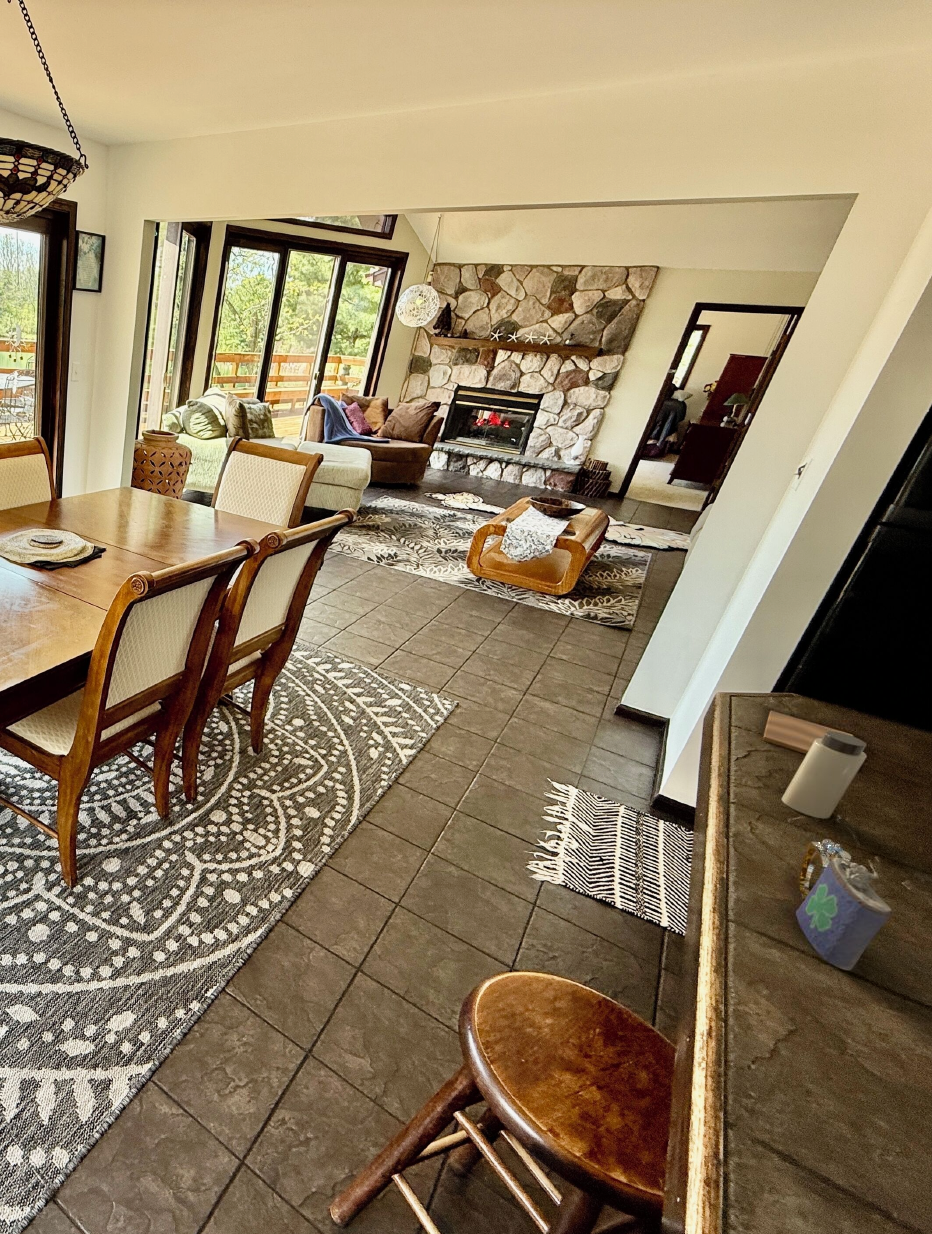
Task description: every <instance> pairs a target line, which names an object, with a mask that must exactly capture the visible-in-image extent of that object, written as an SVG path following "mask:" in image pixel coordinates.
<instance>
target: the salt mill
mask: <svg viewBox="0 0 932 1234" xmlns="http://www.w3.org/2000/svg"><path fill="white" fill-rule="evenodd" d="M866 747H867V743H866V742H865V741H863V740H861V739H860V738H857V737H855V736H854V735H853V736H850V735H847V734H844V733H840V732H834V731H828V732H826V733H825V735H824V737H823V739H822V738H818V739H815V741H814V742H813V744H812V746H811V748H810V749H809V751H808V753H807V754H805V757H804V758H803V760H802V762H801V764H800V765H799V767H798V769H797V770H796V772H795V773H794V776H793V777H792V779H791V781H790V782H789V784H788V786H787V787H786V790H785V791H784V793H783V795H782V796H781V801H782V802H783V803H784V805H786V806H787V807H789V808H791V809H792V810H795V811H796V812H799V813H802V814H804V815H807V816H808V817H813V818H816V819H830V818H831V817H832V815H833V814H834V811H835V810H836V808H837V807H838V805H839V803H840V802H841V800H842V798H843V797H844V795H845V793H846V792H847V791H848V789H849V787H850V785H851V783H852V782H853V781H854V779H855V778H856V776H857V774H858V772H859V770H860V769H861V767H862V765H863V764H864V763H865V760H866V759H867V757H868V756H867V754H866V753H865V752H864V750H865V748H866Z"/></svg>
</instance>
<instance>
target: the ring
mask: <svg viewBox="0 0 932 1234" xmlns="http://www.w3.org/2000/svg"><path fill="white" fill-rule="evenodd" d="M839 857H840V858H841V859H844V860H847V861H849V862H851V859H852V856H851V854H850V853H849V852H847V851H845V849H844V847H843V846H841V844H840V843H835V842H833V841H832V839H830V838H825V839H823V840H822V842H819V841H814V840H813V841H811V842H810V843H808V844H807V847H806V850H805V852H804V856H803V859H802V862H801V865H800V870H799V873H798V874H799V875H798V880H797V881H798V885H799V891H800V892H801V899H802V900H805V898H806V897H807V895H808V894H809V893H810V891H811V890H809V887H810V880H811V876H812V873H813V871H814V868H815V866H816V864H817V863H818V862H819V860H820V862H821V870H820V875H819V877H820V876H821V874H822V873H823V872H824V870H825V869H826V867H827V865H828V864H829V862H830V860H831V859H833V858H839Z"/></svg>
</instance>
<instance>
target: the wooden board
mask: <svg viewBox="0 0 932 1234" xmlns="http://www.w3.org/2000/svg"><path fill="white" fill-rule="evenodd" d="M828 731H834V732H840V733H844V734H847V735H850V736H853V737H854V734H852V733H848V732H846V731H842V730H838V729H835V728H832V727H828V726H825V725H821V724H818V723H814V722H811V721H808V720H804V719H801V718H797V717H795V716H791V715H788V714H784V713H780V712H777V711H774V710H770V711H769V713H768V717H767V721H766V724H765V728H764V732H763V736H762V741H763V742H766V743H770V744H773V745H776V746H779V747H782V748H786V749H789V750H792V751H795V752H797V753H802V754H803V755H804V754H805V755H807V753H808V751H809V749H810V748H811V746H812V744H813V742H814V741H815V739H818V738H822V739H823V737H824V735H825V733H826V732H828Z"/></svg>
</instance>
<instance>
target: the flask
mask: <svg viewBox="0 0 932 1234" xmlns="http://www.w3.org/2000/svg"><path fill="white" fill-rule="evenodd" d="M841 858H842V857H838V858H833V859H829V864H828V865H827V867H826V869H825V870H824V872H823V873H822V874H821V873H820V875H821V876H820V875H819V877H818V880H817V881H816V882H815V884H814V886H813V887H812V888H811V890H809V891H810V893H809V894H808V895H807V897H806V898H805V900H804V899H803V900H804V901H802V903H801V904H800V906H799V907H798V909H796V911H795V915H796V918H797V921H798V925H799V927H800V928H801V930H802V932H803V934H804V935H805V938H806V939H807V940H808V942H809V943H810V944H811V946H812V947H813V948H814V949H815V950H816V952H817V953H818V954H819V956H820V957H822V958H823V959H824V960H825V962H827V963H829V964H831V965H832V966H834V967H836V968H838V969H841V970H844V971H851V970H852V969H853V967H854V966H856V964H857V962H858V961H859V959H860V958H861V956H862V954H863V953H864V951H865V949H866V948H867V947H868V946H869V945H870V944H871V942H872V940H873V938H874V937H875V936H876V935H877V934H878V932H879V931H880V930H881V928H882V927H883V925H884V924H885V923H886V921H887V919H888V918H889V917H890V916H891V915H893V909H892V908H891V906H889V904H887V903H886V902H885V900H883V899H882V898H881V896H879V894H878V893H877V892H875V890H874V888H872V886H871V885H870V884H871V883H872V882H873V881H872V880H877V879H879V876H878V875H879V873H878V872H875V871H874V873H872V872H870V871H869V869H868V868H867V867H866V866H864V865H859V864H858V863H857V862H856V863H855V862H852V861H847V860H844V859H841Z"/></svg>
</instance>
